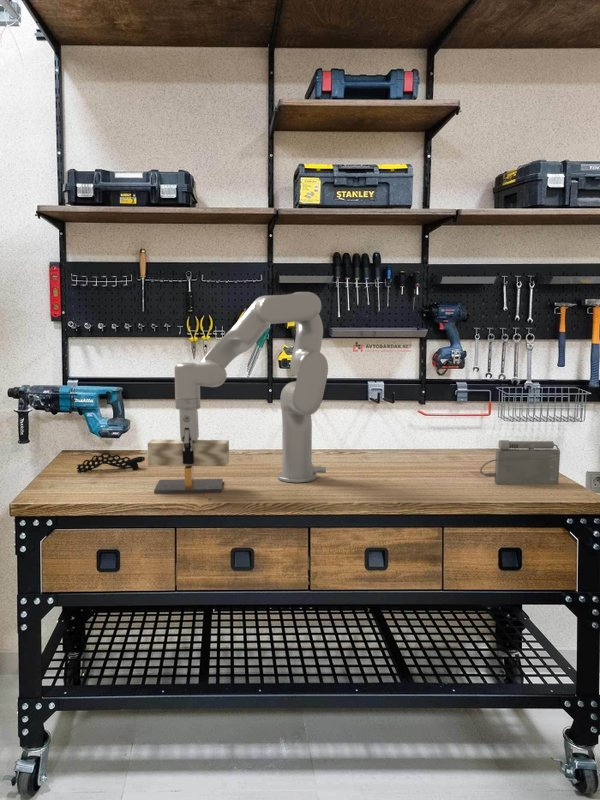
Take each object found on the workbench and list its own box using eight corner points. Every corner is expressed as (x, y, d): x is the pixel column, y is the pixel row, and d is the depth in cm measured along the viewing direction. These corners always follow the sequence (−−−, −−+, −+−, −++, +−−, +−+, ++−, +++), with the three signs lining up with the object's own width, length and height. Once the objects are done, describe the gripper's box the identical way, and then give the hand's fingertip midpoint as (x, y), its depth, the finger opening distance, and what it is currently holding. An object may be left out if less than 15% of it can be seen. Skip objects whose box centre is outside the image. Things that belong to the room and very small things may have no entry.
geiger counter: (556, 438, 217) (478, 438, 217) (564, 442, 211) (484, 442, 210) (554, 481, 219) (477, 481, 219) (562, 486, 212) (482, 486, 212)
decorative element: (76, 474, 227) (75, 457, 227) (77, 470, 232) (76, 453, 231) (145, 470, 233) (144, 453, 232) (144, 467, 238) (144, 450, 237)
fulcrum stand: (222, 481, 217) (222, 460, 216) (221, 492, 205) (220, 469, 204) (159, 482, 216) (159, 461, 215) (154, 493, 204) (153, 470, 203)
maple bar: (229, 462, 211) (228, 440, 210) (226, 466, 206) (225, 443, 205) (153, 461, 213) (152, 439, 212) (148, 465, 207) (147, 443, 206)
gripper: (198, 407, 198) (199, 467, 201) (202, 399, 215) (203, 454, 218) (172, 408, 198) (173, 468, 201) (178, 399, 215) (180, 455, 218)
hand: (189, 460), depth 209 cm, fingers closed on maple bar, 5 cm apart
